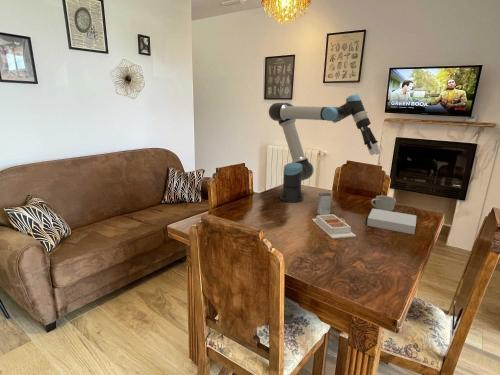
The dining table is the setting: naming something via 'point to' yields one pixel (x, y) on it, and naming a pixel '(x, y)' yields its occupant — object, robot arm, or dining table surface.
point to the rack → (334, 226)
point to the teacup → (384, 203)
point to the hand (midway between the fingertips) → (376, 154)
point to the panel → (324, 203)
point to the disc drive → (391, 221)
